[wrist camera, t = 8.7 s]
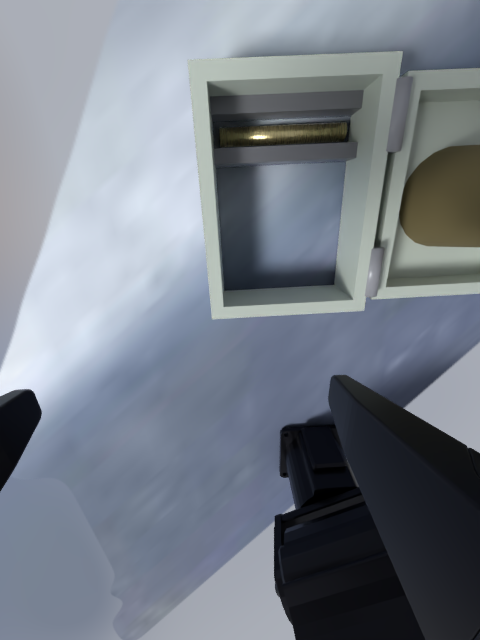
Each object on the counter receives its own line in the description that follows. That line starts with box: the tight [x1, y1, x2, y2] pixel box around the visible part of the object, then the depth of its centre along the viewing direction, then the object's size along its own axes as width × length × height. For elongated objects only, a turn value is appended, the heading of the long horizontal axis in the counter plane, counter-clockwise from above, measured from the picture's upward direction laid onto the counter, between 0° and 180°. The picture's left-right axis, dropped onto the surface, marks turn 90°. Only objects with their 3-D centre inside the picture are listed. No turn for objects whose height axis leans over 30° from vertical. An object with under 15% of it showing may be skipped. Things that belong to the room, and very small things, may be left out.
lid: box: [369, 68, 480, 299], centre depth 17 cm, size 12×10×3 cm
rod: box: [219, 122, 347, 148], centre depth 16 cm, size 1×8×1 cm
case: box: [188, 51, 413, 319], centre depth 17 cm, size 13×11×4 cm
